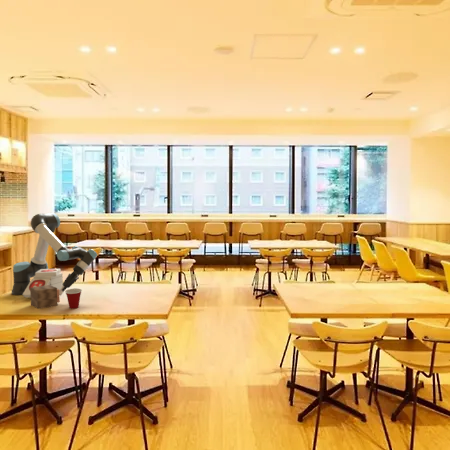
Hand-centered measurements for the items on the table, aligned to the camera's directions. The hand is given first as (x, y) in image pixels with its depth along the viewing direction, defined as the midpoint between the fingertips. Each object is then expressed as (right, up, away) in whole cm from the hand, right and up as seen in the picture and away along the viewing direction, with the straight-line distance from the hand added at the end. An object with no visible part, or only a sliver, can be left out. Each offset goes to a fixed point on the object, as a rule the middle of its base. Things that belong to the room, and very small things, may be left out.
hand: (58, 294), depth 311 cm
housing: (-8, -6, -6) cm, 12 cm away
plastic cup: (+15, -7, -13) cm, 21 cm away
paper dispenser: (-19, -5, +23) cm, 30 cm away
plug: (-5, -5, -4) cm, 9 cm away
